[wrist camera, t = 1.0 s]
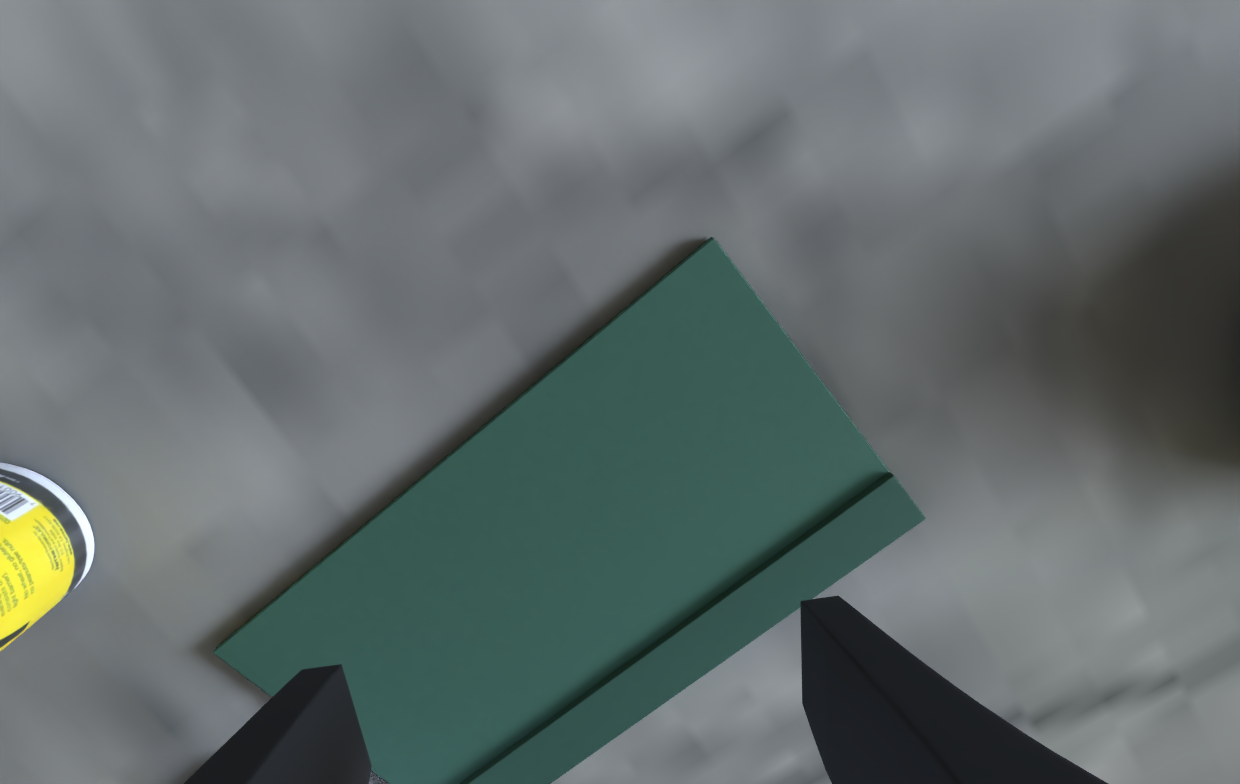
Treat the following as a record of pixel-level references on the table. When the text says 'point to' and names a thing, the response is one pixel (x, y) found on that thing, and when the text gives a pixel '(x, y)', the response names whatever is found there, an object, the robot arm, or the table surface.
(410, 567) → the green board
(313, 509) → the table surface
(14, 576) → the supplement bottle
